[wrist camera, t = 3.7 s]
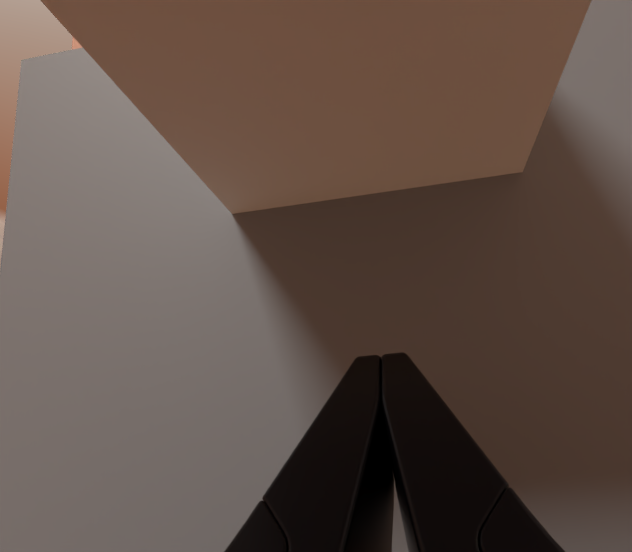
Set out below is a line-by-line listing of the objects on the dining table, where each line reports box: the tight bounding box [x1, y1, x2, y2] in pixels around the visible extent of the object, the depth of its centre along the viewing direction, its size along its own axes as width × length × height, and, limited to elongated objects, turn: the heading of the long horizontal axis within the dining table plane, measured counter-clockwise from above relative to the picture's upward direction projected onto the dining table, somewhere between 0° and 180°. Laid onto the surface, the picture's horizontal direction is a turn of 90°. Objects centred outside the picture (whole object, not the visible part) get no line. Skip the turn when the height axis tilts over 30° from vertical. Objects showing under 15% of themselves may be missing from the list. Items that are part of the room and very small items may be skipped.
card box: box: [41, 0, 591, 214], centre depth 10 cm, size 4×7×8 cm, turn 94°
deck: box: [0, 0, 632, 552], centre depth 14 cm, size 14×20×4 cm
